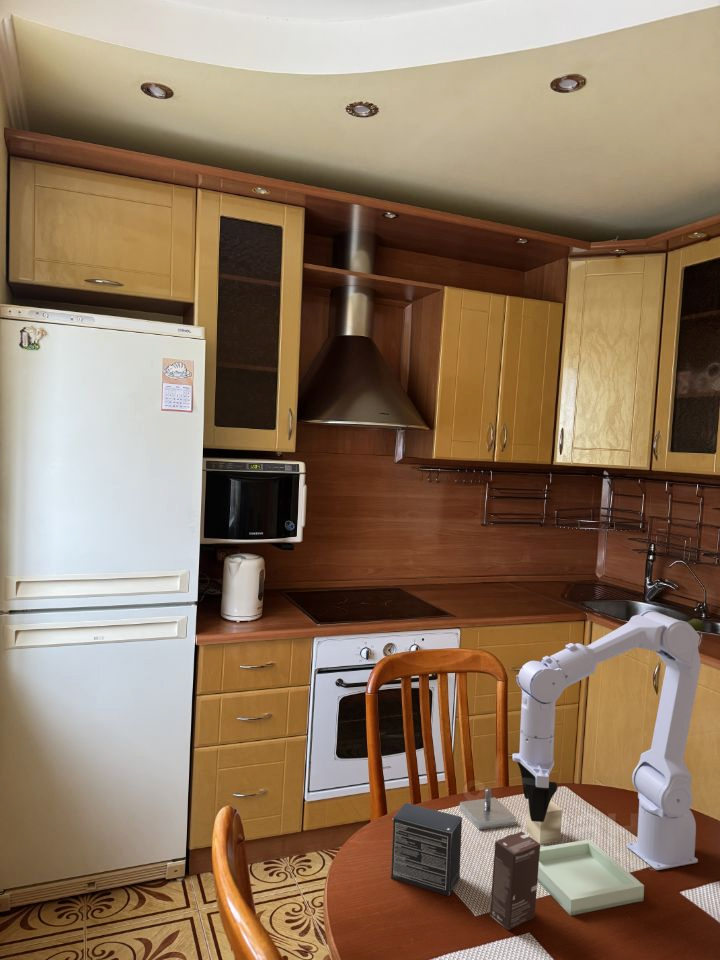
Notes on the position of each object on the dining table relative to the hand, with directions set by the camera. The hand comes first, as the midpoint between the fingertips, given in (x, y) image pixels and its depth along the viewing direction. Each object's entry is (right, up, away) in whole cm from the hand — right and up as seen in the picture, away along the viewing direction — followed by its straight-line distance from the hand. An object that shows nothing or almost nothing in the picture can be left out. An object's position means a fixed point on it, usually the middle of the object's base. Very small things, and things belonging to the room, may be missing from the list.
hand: (533, 809), depth 120 cm
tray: (+7, -11, -4) cm, 13 cm away
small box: (-19, -10, -4) cm, 22 cm away
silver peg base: (-5, -9, +16) cm, 20 cm away
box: (-7, -10, -14) cm, 18 cm away
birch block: (+4, -10, +10) cm, 15 cm away
